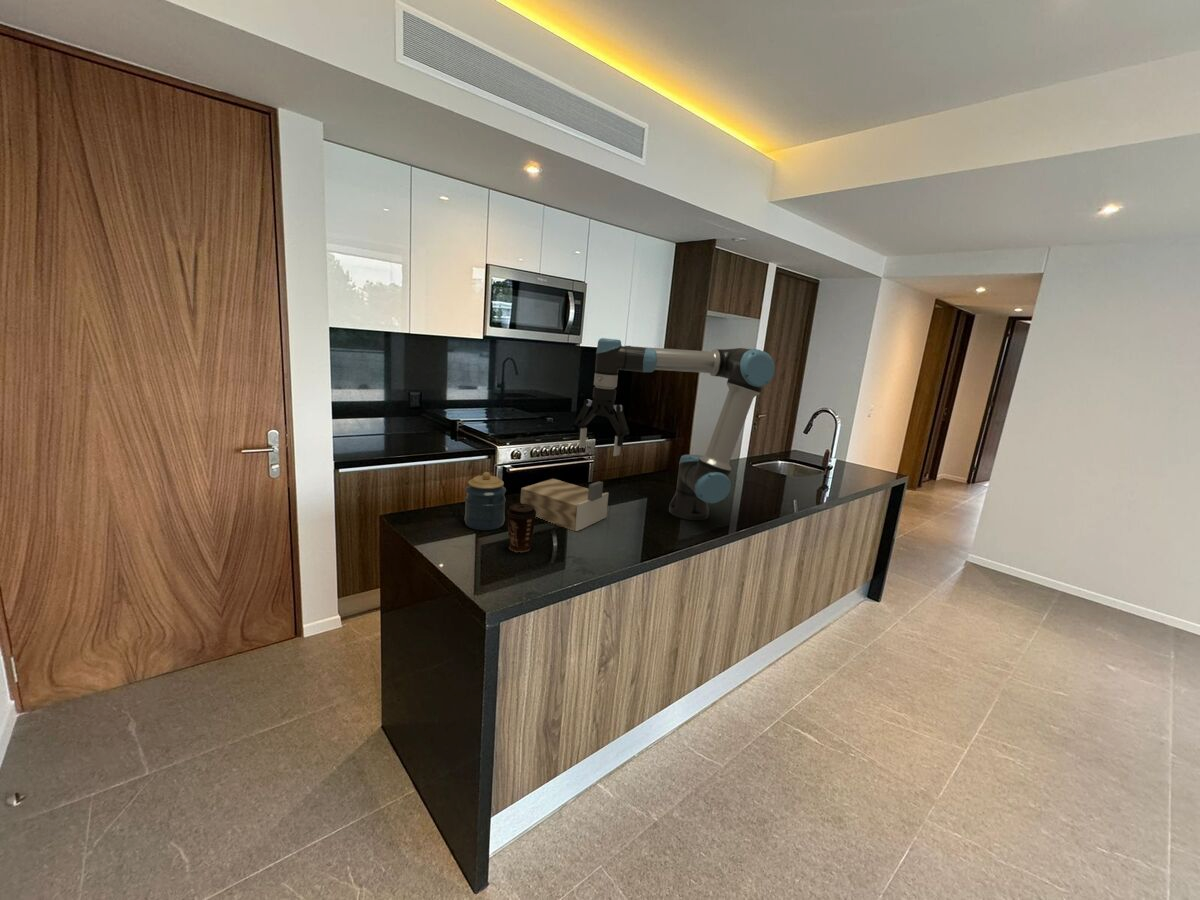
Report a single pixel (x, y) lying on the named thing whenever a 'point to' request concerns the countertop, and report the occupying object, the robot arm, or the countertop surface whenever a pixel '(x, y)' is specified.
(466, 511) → the canister
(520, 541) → the coffee cup
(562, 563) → the countertop surface
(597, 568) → the countertop surface
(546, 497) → the mailer sleeve
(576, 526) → the tray
